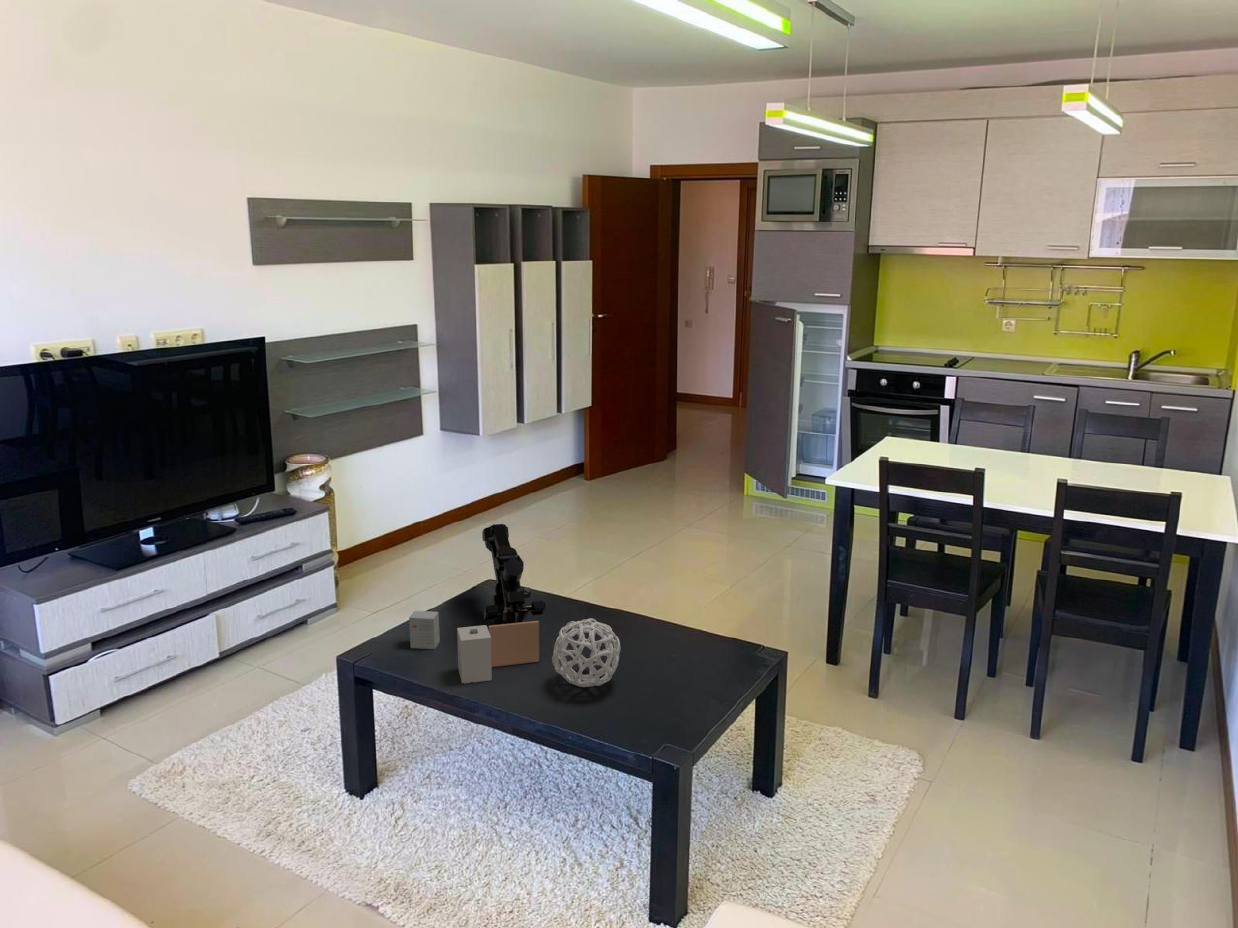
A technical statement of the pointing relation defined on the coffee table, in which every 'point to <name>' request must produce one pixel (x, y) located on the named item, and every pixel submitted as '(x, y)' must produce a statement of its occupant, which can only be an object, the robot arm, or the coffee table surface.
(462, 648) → the beige rectangular box
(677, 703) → the coffee table surface
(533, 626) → the side door
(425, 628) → the small box
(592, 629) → the decorative ball
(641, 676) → the coffee table surface
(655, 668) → the coffee table surface
